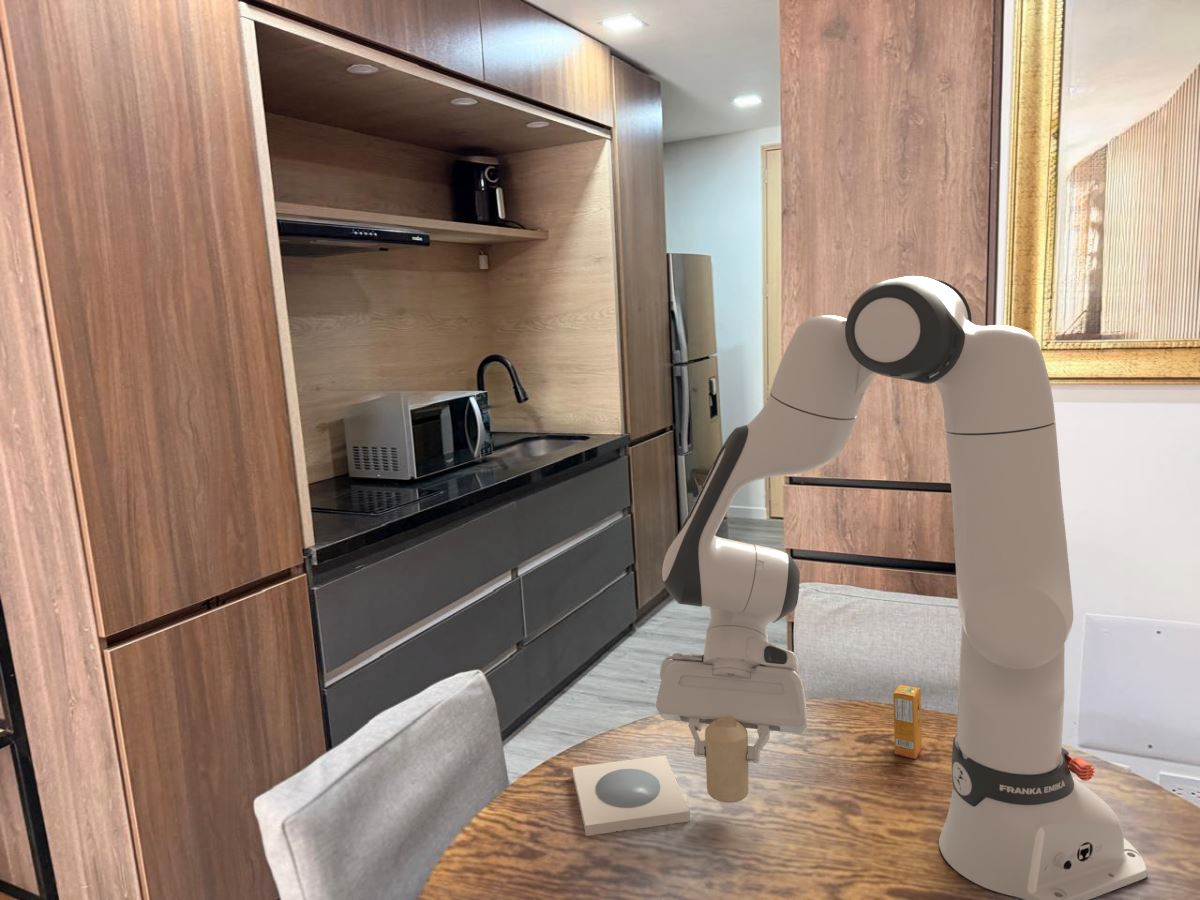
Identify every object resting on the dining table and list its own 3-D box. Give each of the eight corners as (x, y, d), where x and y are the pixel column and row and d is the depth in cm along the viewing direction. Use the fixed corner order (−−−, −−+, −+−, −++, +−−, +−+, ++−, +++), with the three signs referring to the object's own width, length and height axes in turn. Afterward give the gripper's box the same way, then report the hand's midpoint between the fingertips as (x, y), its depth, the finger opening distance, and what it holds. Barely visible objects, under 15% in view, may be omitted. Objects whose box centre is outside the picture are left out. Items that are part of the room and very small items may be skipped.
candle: (748, 804, 105) (746, 733, 103) (705, 801, 106) (703, 730, 104) (749, 780, 110) (747, 712, 108) (708, 777, 111) (706, 709, 109)
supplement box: (898, 743, 124) (899, 682, 122) (921, 750, 122) (923, 688, 120) (891, 753, 121) (892, 691, 120) (915, 760, 119) (917, 697, 118)
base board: (665, 764, 121) (665, 754, 121) (690, 821, 108) (689, 809, 107) (573, 776, 119) (572, 765, 119) (585, 836, 106) (585, 824, 105)
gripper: (658, 643, 115) (644, 743, 107) (807, 654, 108) (803, 761, 101) (667, 660, 120) (654, 756, 112) (810, 671, 113) (806, 774, 106)
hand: (726, 759), depth 106 cm, fingers closed on candle, 5 cm apart
